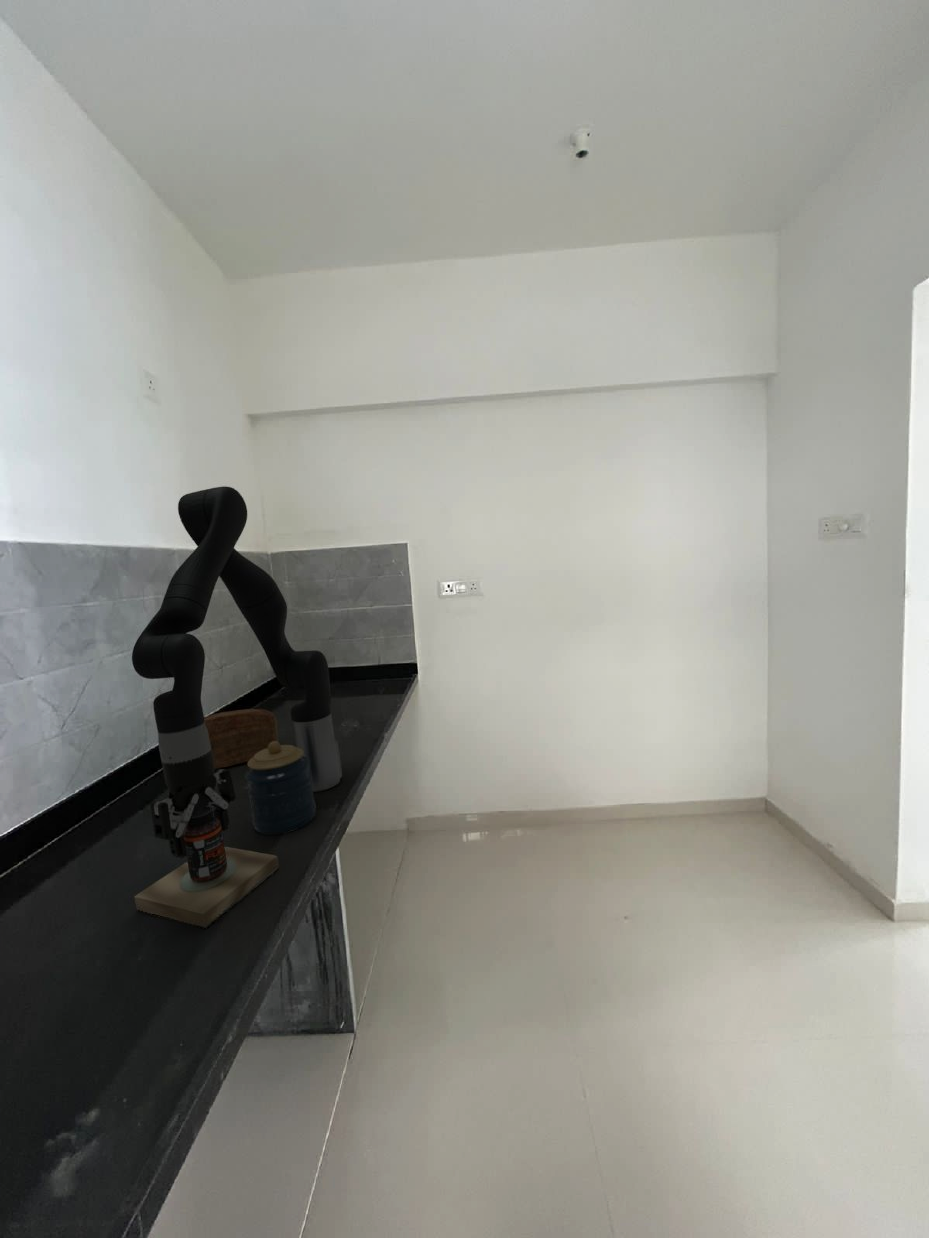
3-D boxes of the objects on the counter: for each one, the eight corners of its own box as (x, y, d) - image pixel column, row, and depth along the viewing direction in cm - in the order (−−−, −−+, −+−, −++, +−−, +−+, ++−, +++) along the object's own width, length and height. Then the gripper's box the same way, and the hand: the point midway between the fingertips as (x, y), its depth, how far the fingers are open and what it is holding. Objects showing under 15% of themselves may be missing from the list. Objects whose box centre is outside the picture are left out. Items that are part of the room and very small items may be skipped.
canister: (242, 825, 116) (229, 746, 114) (297, 800, 126) (285, 727, 123) (272, 843, 107) (258, 758, 105) (328, 815, 117) (317, 736, 114)
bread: (282, 757, 155) (274, 709, 153) (173, 782, 145) (163, 730, 143) (280, 745, 166) (273, 699, 164) (178, 767, 156) (170, 719, 154)
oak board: (215, 856, 105) (213, 843, 104) (279, 868, 98) (277, 854, 98) (136, 910, 90) (134, 895, 90) (205, 928, 84) (202, 912, 83)
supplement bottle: (213, 884, 90) (201, 820, 89) (182, 883, 92) (170, 820, 90) (235, 863, 96) (224, 803, 95) (206, 862, 98) (195, 803, 96)
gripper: (163, 771, 83) (181, 869, 85) (236, 737, 96) (250, 824, 98) (130, 768, 86) (149, 863, 88) (205, 735, 99) (220, 819, 101)
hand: (202, 842), depth 93 cm, fingers open, 8 cm apart
